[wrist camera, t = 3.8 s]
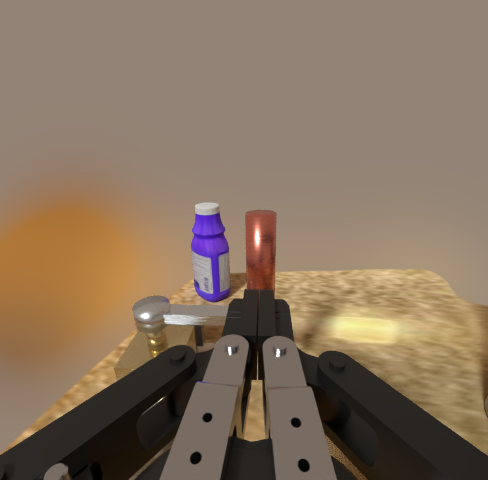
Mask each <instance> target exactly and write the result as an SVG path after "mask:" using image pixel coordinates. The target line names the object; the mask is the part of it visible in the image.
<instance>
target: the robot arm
mask: <svg viewBox="0 0 488 480" xmlns="http://www.w3.org/2000/svg"><path fill="white" fill-rule="evenodd" d="M257 358H258V380H263V412H264V426H265V439H264V440H259V441H254V442H250V441H247V440H244V434H245V427H246V420H247V413H248V406H249V399H250V390H251V382H252V380H257ZM163 397H164V398H163ZM162 398H163V399H162ZM161 399H162V400H161ZM159 400H161V401H159ZM158 401H159V402H158ZM157 402H158V403H157ZM156 403H157V404H156ZM154 404H155V405H154ZM153 405H154V406H153ZM152 406H153V407H152ZM150 407H151V408H150ZM149 408H150V409H149ZM148 409H149V410H148ZM146 410H148V411H146ZM485 410H486V413H487V416H488V395H487V398H486V400H485ZM145 411H146V412H145ZM144 412H145V413H144ZM143 413H144V414H143ZM324 433H325V434H326V435H327V436H328V438H329V439H330V440H331V441H332V442H333V443H334V444H335V445H336V446H337V447H338V448H339V449H340V450H341V451H342V452H343V453H344V455H345V456H346V457H347V458H348V459H349V460H350V461H351V462H352V463H353V464H354V465H355V466H356V467H357V468H358V469H359V471H360V472H361V473H362V474H363V475H364V476H365V477H366V478H367V479H368V480H488V456H487V455H486V454H484V453H483V452H481V451H480V450H479V449H477V448H476V447H475V446H473V445H472V444H470V443H469V442H468V441H466V440H465V439H463V438H462V437H461V436H459V435H458V434H456V433H455V432H454V431H452V430H451V429H449V428H448V427H447V426H445V425H444V424H442V423H441V422H440V421H438V420H437V419H435V418H434V417H433V416H431V415H430V414H429V413H427V412H426V411H424V410H423V409H422V408H420V407H419V406H417V405H416V404H415V403H413V402H412V401H410V400H409V399H408V398H406V397H405V396H403V395H402V394H401V393H399V392H398V391H396V390H395V389H394V388H392V387H391V386H390V385H388V384H387V383H385V382H384V381H383V380H381V379H380V378H378V377H377V376H376V375H374V374H373V373H371V372H370V371H369V370H367V369H366V368H364V367H363V366H362V365H360V364H359V363H357V362H356V361H355V360H353V359H352V358H350V357H349V356H348V355H346V354H344V353H341V352H338V351H326V352H324V353H322V354H321V355H320V356H319V358H318V357H315V356H311V355H308V354H306V353H304V352H302V351H301V350H300V349H299V348H298V347H297V346H296V344H295V343H294V337H293V330H292V323H291V316H290V309H289V305H288V304H287V303H286V301H285V300H282V299H274V290H268V289H260V296H259V289H245V290H244V298H243V299H233V301H232V302H231V303H230V304H229V307H228V312H227V316H226V320H225V325H224V329H223V334H222V338H220V339H219V340H218V341H217V342H216V344H215V347H214V348H212V349H210V350H208V351H204V352H200V353H195V351H194V349H193V348H191V347H190V346H187V345H176V346H173V347H170V348H168V349H167V350H165V351H164V352H162V353H160V354H159V355H157V356H156V357H154V358H153V359H151V360H149V361H148V362H146V363H145V364H143V365H142V366H140V367H138V368H137V369H135V370H134V371H132V372H131V373H129V374H127V375H126V376H124V377H123V378H121V379H120V380H118V381H116V382H115V383H113V384H112V385H110V386H109V387H107V388H105V389H104V390H102V391H101V392H99V393H97V394H96V395H94V396H93V397H91V398H90V399H88V400H86V401H85V402H83V403H82V404H80V405H79V406H77V407H75V408H74V409H72V410H71V411H69V412H68V413H66V414H64V415H63V416H61V417H60V418H58V419H57V420H55V421H53V422H52V423H50V424H49V425H47V426H46V427H44V428H42V429H41V430H39V431H38V432H36V433H35V434H33V435H31V436H30V437H28V438H27V439H25V440H23V441H22V442H20V443H19V444H17V445H16V446H14V447H12V448H11V449H9V450H8V451H6V452H5V453H3V454H1V455H0V480H129V479H130V478H131V477H132V476H133V475H134V474H135V473H136V472H137V471H139V470H140V469H141V468H142V467H143V466H144V465H145V464H146V463H147V462H148V461H150V460H151V459H152V458H153V457H154V456H155V455H156V454H157V453H158V452H159V451H160V450H162V449H163V448H164V447H165V446H166V445H167V444H168V443H169V442H170V441H171V440H172V439H174V438H175V440H174V442H173V445H172V447H171V448H170V449H168V450H167V451H165V452H163V453H162V454H161V455H160V456H158V457H157V458H156V459H155V460H154V461H153V462H152V463H151V464H150V465H149V466H148V467H147V468H146V469H144V470H143V471H142V472H141V473H140V474H139V475H138V476H137V477H136V478H135V479H134V480H358V479H357V478H356V477H355V476H354V475H353V474H352V473H351V472H350V471H349V470H348V469H347V468H346V467H345V466H344V465H343V464H342V463H340V462H339V461H338V460H337V459H335V458H334V457H332V456H330V452H329V449H328V445H327V441H326V438H325V434H324Z"/></svg>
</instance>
